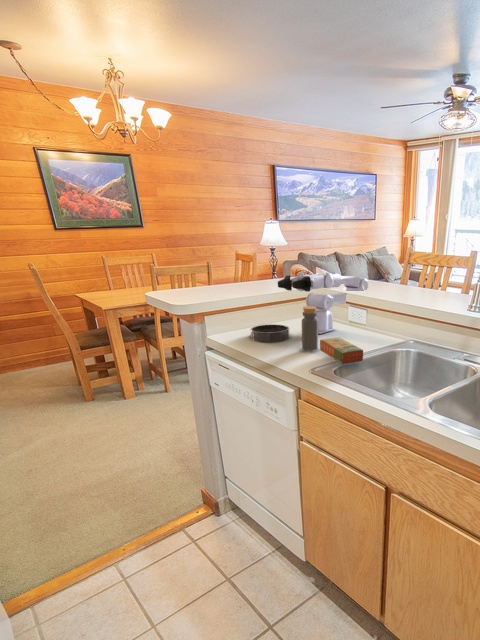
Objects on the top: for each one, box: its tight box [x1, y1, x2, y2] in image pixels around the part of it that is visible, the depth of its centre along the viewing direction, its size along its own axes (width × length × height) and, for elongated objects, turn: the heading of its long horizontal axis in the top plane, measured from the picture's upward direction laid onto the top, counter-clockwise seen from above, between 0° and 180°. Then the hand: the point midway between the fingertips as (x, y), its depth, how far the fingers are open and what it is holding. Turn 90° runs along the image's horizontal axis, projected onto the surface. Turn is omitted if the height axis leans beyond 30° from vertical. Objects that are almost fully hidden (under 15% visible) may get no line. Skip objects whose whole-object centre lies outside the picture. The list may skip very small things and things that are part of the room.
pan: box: [250, 324, 291, 344], centre depth 165 cm, size 15×15×4 cm
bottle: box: [301, 305, 319, 351], centre depth 148 cm, size 6×6×15 cm
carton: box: [319, 336, 364, 365], centre depth 140 cm, size 8×16×4 cm, turn 30°
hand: (285, 284), depth 153 cm, fingers open, 7 cm apart
